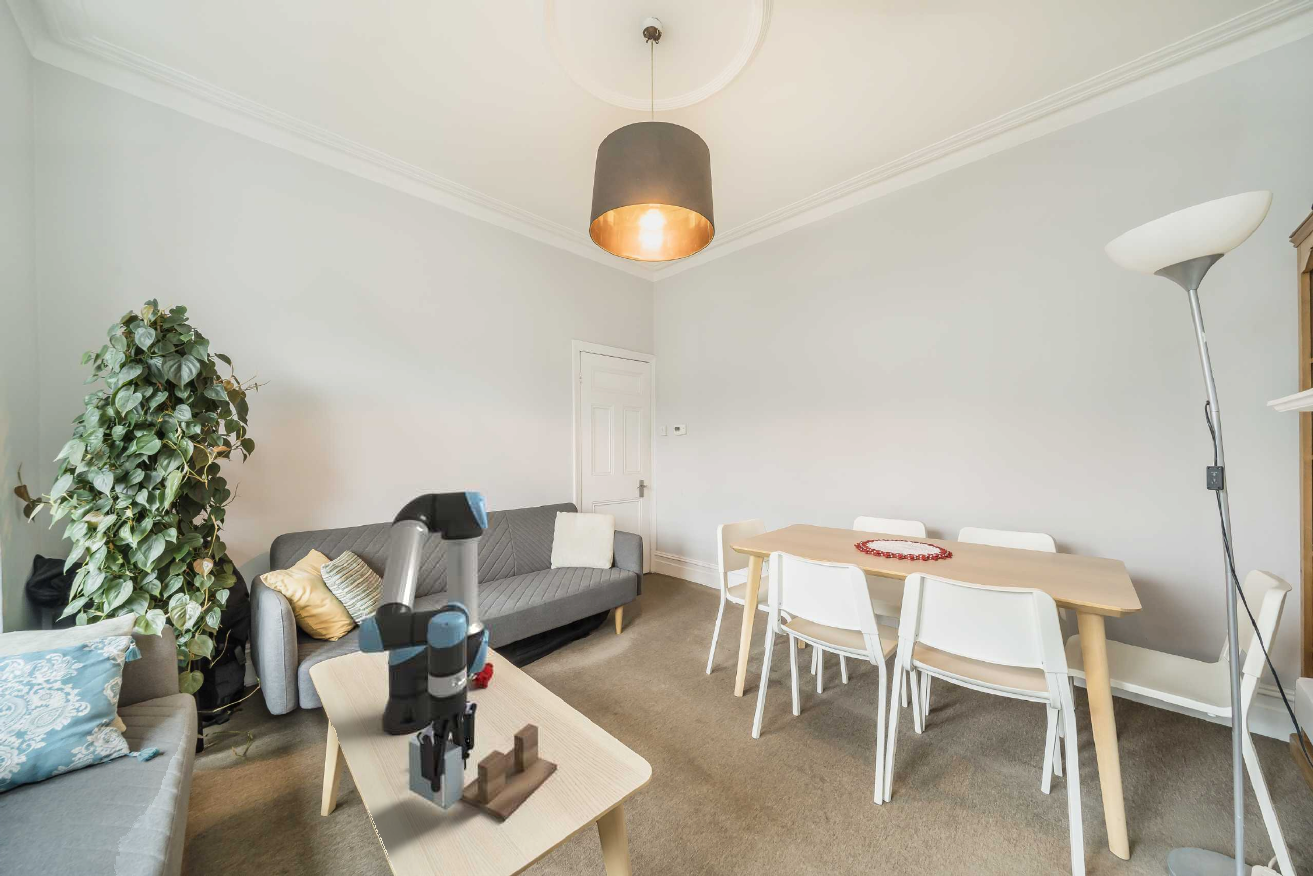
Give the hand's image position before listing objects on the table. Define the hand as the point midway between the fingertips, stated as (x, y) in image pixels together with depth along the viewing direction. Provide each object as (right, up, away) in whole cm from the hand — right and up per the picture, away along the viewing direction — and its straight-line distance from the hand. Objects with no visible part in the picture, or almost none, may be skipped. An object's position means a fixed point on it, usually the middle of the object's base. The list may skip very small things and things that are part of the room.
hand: (449, 795), depth 100 cm
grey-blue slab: (-4, -1, +2) cm, 5 cm away
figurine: (-16, -5, +54) cm, 57 cm away
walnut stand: (+10, -4, +9) cm, 14 cm away
